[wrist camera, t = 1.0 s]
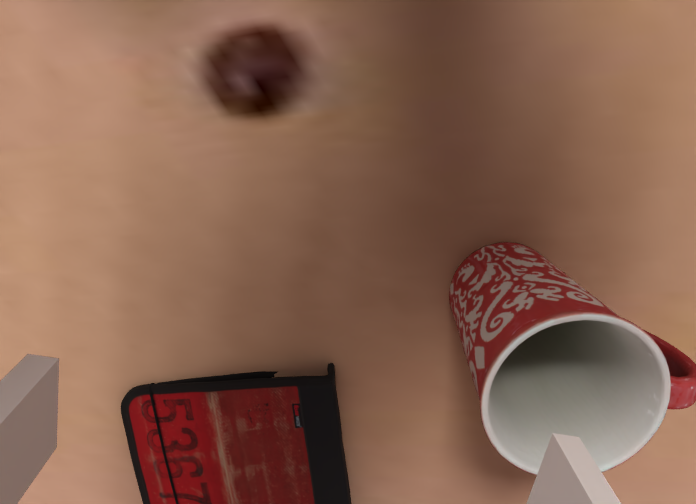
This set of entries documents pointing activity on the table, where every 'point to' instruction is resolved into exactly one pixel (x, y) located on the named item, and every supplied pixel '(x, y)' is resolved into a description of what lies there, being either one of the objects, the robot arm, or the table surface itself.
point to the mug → (560, 361)
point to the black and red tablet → (238, 440)
